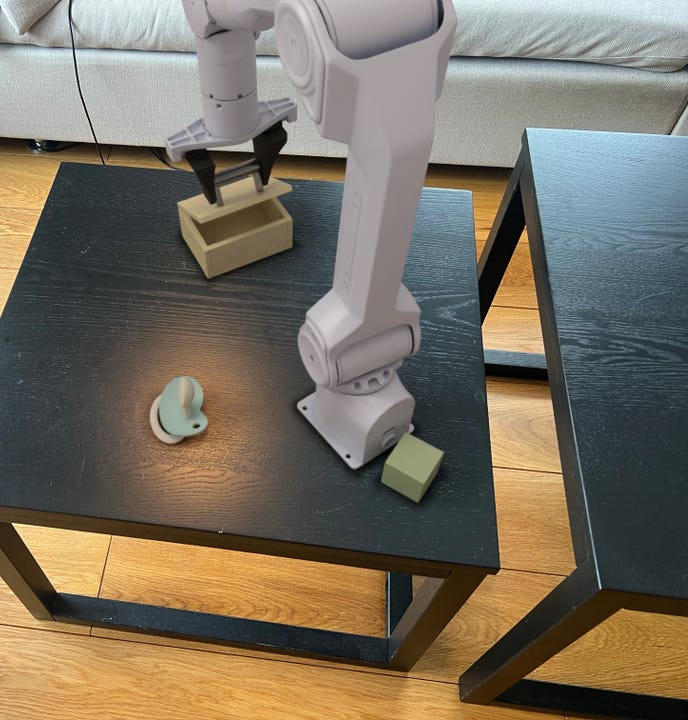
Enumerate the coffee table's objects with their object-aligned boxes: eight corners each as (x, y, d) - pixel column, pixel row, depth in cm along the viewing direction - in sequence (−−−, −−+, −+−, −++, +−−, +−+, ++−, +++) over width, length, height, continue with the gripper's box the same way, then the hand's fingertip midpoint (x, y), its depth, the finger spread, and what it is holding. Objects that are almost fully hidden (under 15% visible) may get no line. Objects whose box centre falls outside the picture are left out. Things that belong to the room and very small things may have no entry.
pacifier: (154, 453, 78) (211, 442, 77) (143, 421, 73) (204, 410, 72) (147, 395, 82) (202, 385, 82) (136, 361, 77) (194, 351, 77)
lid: (292, 190, 86) (284, 152, 84) (201, 224, 84) (190, 185, 82) (262, 178, 94) (254, 142, 92) (178, 208, 92) (168, 172, 90)
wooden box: (292, 247, 93) (292, 219, 89) (208, 279, 91) (204, 251, 87) (263, 206, 98) (262, 178, 94) (182, 235, 96) (177, 207, 92)
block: (437, 472, 73) (444, 452, 70) (418, 503, 72) (424, 484, 68) (400, 452, 75) (405, 431, 72) (380, 482, 73) (384, 462, 70)
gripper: (275, 44, 79) (277, 150, 90) (147, 85, 77) (165, 189, 88) (307, 77, 75) (305, 184, 86) (172, 122, 73) (188, 226, 83)
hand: (236, 189), depth 86 cm, fingers closed on lid, 6 cm apart
